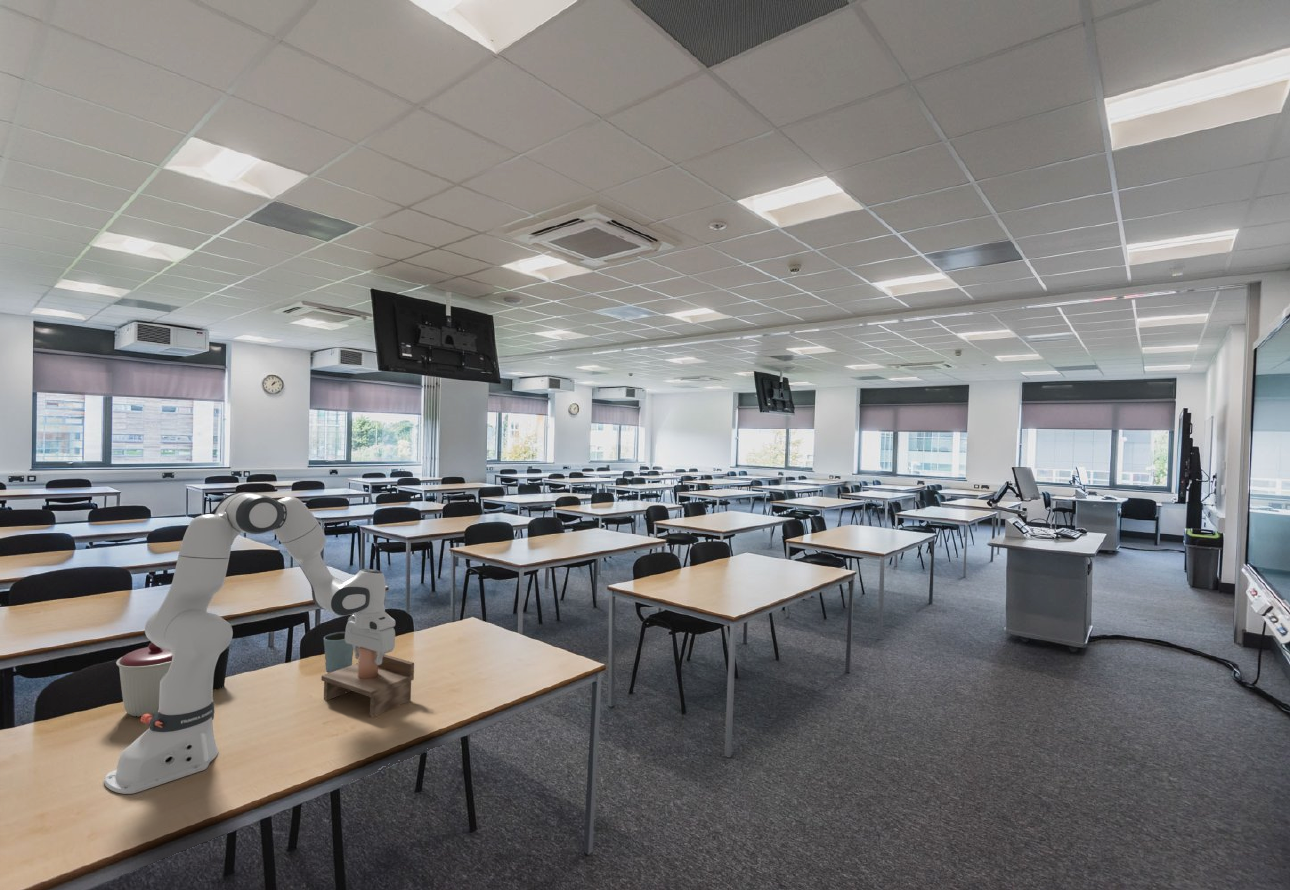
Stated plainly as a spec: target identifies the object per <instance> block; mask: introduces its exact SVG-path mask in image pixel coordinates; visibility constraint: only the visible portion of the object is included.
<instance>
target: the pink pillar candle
mask: <svg viewBox="0 0 1290 890" xmlns="http://www.w3.org/2000/svg"><path fill="white" fill-rule="evenodd" d="M377 656H378V655H377V652H376V651H373V650H369V649H366V648H362V647H360V648H359V656H358V659H357V660H358V661H357V662H358V678H360V679H369V678H373V677H376V676H377V675H378V665H376V664H374V662H375V661H374V660H375V659H376V658H377Z"/></svg>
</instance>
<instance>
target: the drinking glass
mask: <svg viewBox="0 0 1290 890" xmlns="http://www.w3.org/2000/svg"><path fill="white" fill-rule="evenodd" d="M323 646H324V659H325V663H324V664H325V671H326V672H327V673H331V672H334V671H337V670H340V669H342V668H345V667H348V666H351V665H353V655H354V650H353V645H351V644H348V643H346V641H345V631H337V632H333V633H329V634H327V635H325V636H324V637H323Z"/></svg>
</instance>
